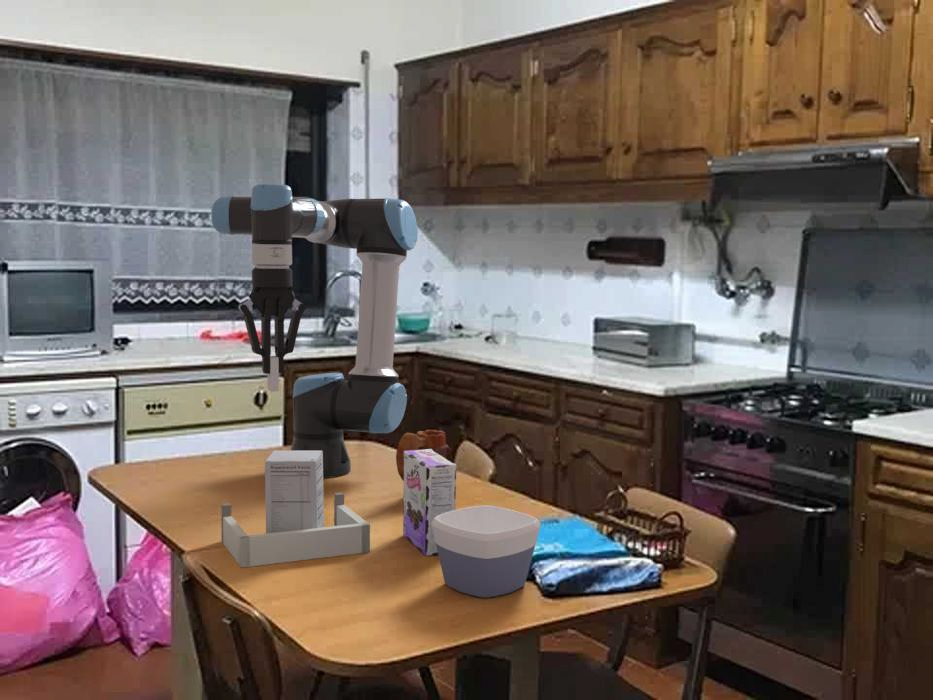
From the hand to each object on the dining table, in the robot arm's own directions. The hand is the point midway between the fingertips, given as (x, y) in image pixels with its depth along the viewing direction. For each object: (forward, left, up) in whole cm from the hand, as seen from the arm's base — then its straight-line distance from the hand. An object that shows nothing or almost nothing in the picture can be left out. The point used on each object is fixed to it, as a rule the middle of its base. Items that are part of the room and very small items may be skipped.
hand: (273, 390), depth 200 cm
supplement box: (+15, 0, -27) cm, 31 cm away
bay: (+15, 0, -26) cm, 30 cm away
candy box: (+23, +23, -27) cm, 42 cm away
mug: (-7, +34, -27) cm, 44 cm away
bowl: (+47, +23, -27) cm, 59 cm away
